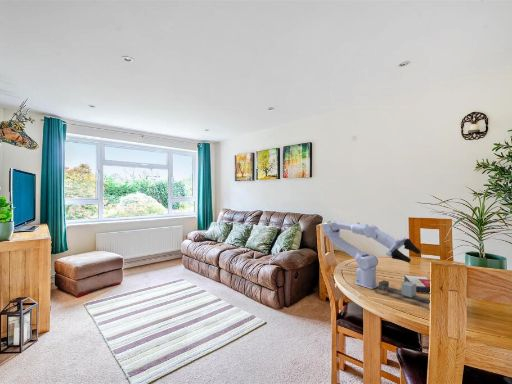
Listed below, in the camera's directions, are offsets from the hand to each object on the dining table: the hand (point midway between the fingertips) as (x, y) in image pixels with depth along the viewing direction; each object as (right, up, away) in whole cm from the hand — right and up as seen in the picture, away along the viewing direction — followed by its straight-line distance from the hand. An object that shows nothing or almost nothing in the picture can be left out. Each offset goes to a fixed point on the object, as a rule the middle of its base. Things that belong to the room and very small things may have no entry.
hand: (414, 256), depth 112 cm
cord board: (-3, -20, +2) cm, 20 cm away
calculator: (+13, -21, +15) cm, 28 cm away
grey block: (-2, -18, +1) cm, 18 cm away
